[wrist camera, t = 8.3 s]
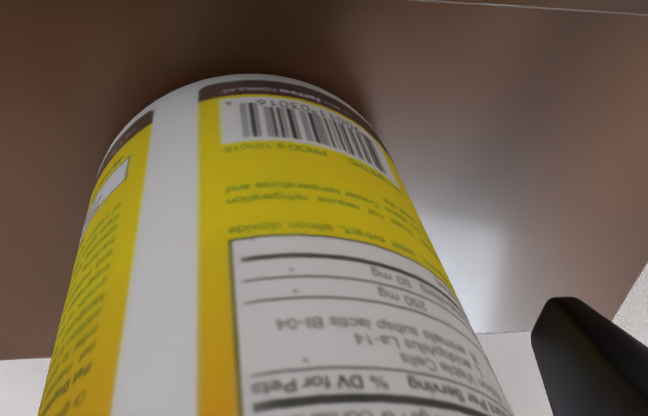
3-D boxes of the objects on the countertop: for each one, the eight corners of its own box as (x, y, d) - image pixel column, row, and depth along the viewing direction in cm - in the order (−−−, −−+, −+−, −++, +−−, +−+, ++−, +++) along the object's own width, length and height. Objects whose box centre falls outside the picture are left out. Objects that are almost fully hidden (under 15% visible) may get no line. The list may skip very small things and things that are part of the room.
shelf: (653, -113, 14) (929, -31, 9) (524, 207, 20) (640, 373, 15) (-315, -225, 10) (-889, -202, 5) (-120, 212, 16) (-282, 441, 11)
